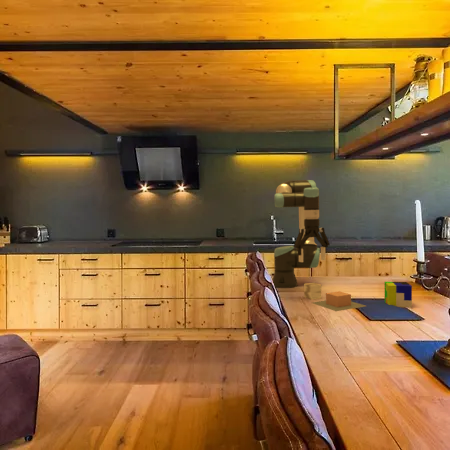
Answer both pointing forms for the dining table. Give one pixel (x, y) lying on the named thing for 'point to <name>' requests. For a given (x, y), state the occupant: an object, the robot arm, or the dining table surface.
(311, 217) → the robot arm
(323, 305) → the olive square panel
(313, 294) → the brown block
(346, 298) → the base block
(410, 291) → the puzzle toy
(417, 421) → the dining table surface
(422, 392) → the dining table surface
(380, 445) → the dining table surface
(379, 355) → the dining table surface
